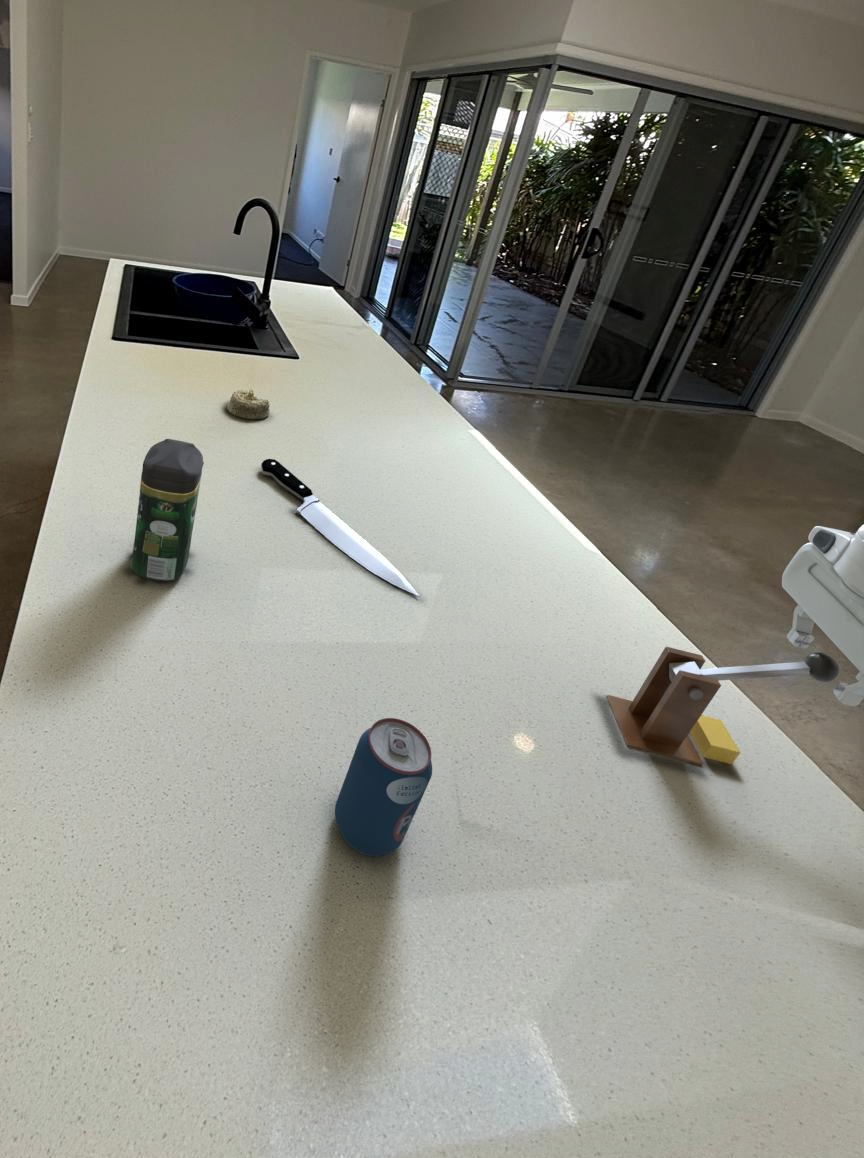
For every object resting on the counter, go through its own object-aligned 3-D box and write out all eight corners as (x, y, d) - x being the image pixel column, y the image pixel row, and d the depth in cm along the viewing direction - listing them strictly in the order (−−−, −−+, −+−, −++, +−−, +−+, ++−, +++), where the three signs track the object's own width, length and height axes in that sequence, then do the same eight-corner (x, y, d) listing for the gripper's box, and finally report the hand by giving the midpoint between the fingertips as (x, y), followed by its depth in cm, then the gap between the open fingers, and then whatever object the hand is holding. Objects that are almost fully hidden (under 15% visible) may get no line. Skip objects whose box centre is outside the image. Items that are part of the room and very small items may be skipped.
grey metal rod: (828, 666, 77) (830, 645, 75) (845, 687, 74) (848, 665, 72) (667, 677, 81) (667, 657, 79) (678, 697, 78) (678, 676, 77)
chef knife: (402, 608, 97) (405, 596, 96) (248, 473, 124) (249, 462, 123) (426, 596, 100) (430, 584, 99) (271, 466, 127) (272, 456, 126)
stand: (671, 718, 86) (715, 651, 81) (698, 770, 79) (748, 700, 74) (603, 700, 86) (642, 633, 81) (623, 751, 79) (668, 680, 74)
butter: (709, 736, 84) (721, 719, 83) (728, 769, 80) (740, 752, 79) (682, 729, 85) (693, 712, 83) (699, 761, 80) (711, 745, 79)
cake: (253, 426, 144) (256, 404, 142) (217, 410, 149) (220, 389, 146) (278, 412, 152) (281, 391, 149) (243, 397, 156) (245, 377, 153)
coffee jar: (139, 539, 99) (153, 429, 91) (191, 549, 99) (209, 440, 91) (123, 578, 90) (137, 461, 82) (180, 589, 90) (199, 473, 82)
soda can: (401, 873, 61) (441, 788, 55) (328, 851, 61) (360, 765, 56) (400, 805, 67) (435, 723, 62) (334, 786, 67) (363, 703, 62)
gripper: (1007, 650, 60) (912, 753, 66) (859, 532, 78) (795, 620, 84) (936, 633, 60) (848, 736, 66) (805, 519, 78) (746, 608, 84)
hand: (818, 670), depth 75 cm, fingers open, 8 cm apart
